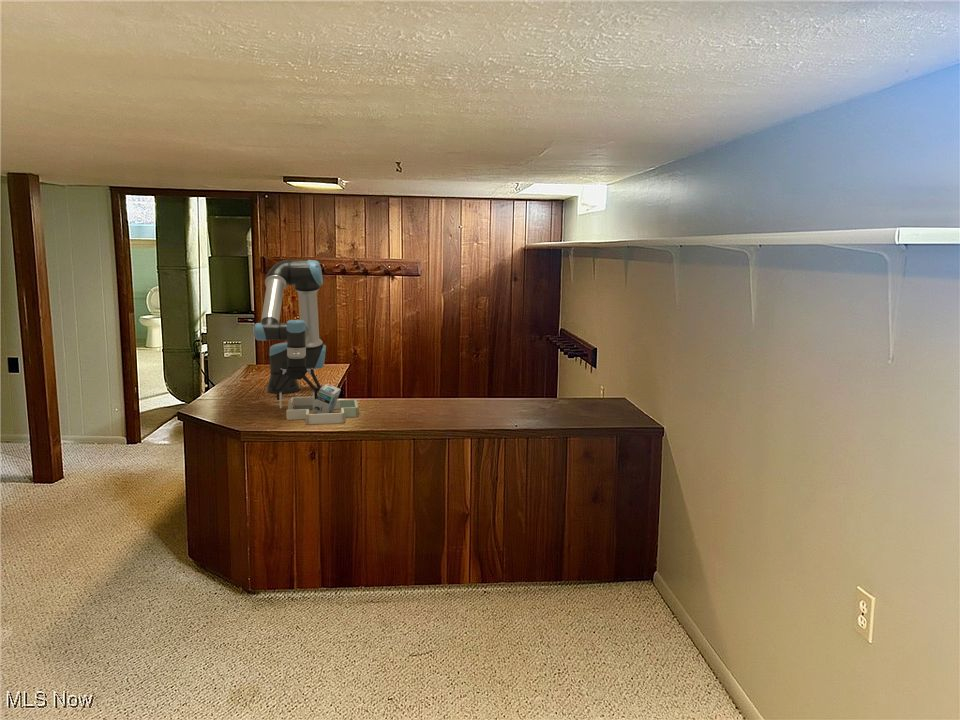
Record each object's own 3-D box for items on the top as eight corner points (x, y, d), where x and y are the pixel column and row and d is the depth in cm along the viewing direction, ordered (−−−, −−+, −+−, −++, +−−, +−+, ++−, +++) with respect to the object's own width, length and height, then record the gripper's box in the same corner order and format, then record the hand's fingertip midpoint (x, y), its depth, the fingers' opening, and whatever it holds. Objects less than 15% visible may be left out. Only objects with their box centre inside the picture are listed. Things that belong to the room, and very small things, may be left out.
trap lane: (289, 406, 321) (288, 397, 320) (355, 403, 327) (355, 394, 326) (285, 425, 288) (285, 415, 287) (359, 422, 294) (359, 412, 293)
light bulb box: (326, 417, 301) (334, 394, 299) (311, 411, 301) (319, 388, 299) (333, 411, 312) (341, 388, 310) (319, 405, 312) (327, 383, 310)
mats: (294, 406, 320) (294, 405, 320) (338, 404, 324) (338, 404, 324) (292, 424, 289) (292, 423, 289) (340, 422, 294) (340, 421, 294)
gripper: (264, 358, 295) (265, 409, 298) (327, 358, 300) (327, 408, 303) (266, 356, 302) (267, 406, 305) (327, 355, 307) (327, 404, 310)
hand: (297, 407), depth 304 cm, fingers open, 13 cm apart
